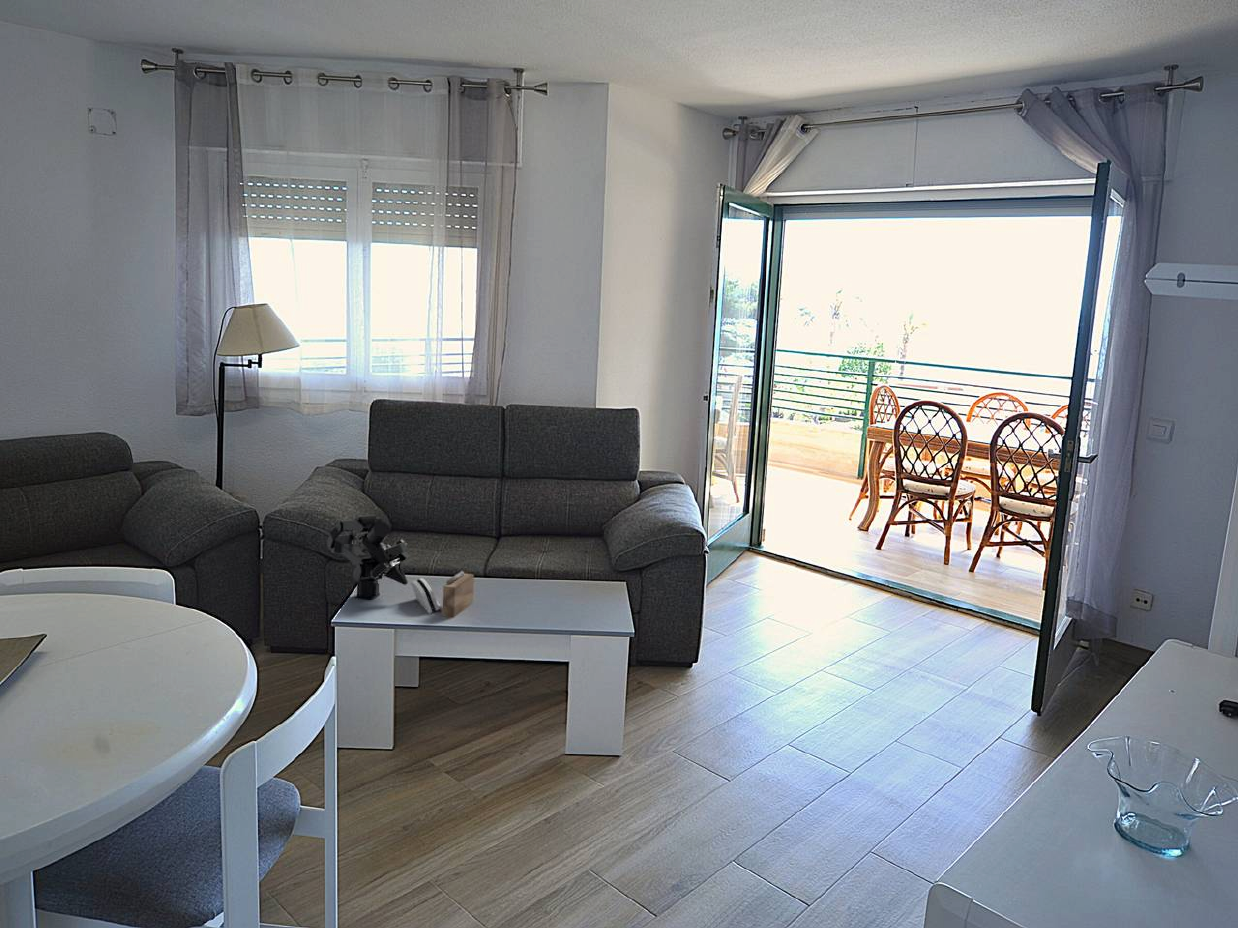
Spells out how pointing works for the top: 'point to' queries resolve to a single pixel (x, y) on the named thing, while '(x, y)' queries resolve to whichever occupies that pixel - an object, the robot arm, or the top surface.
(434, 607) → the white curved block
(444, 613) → the tan flat boxy piece
